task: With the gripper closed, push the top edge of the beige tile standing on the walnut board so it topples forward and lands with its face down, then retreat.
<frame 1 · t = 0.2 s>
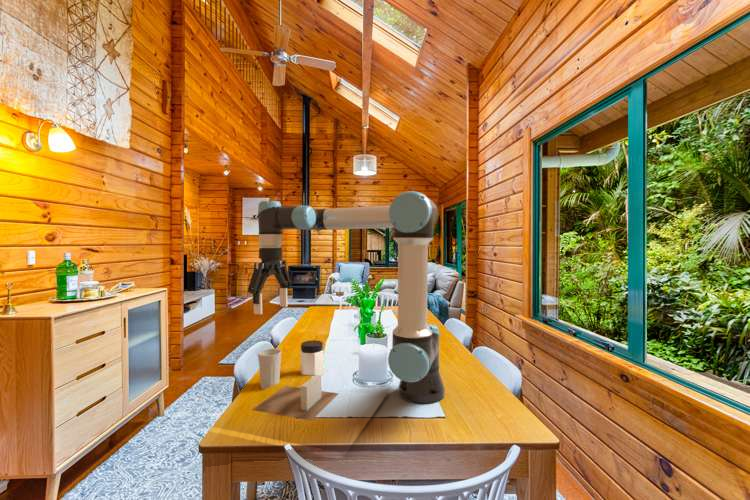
hand: (271, 310, 119), 28 cm above the table, fingers open, 13 cm apart
board: (297, 405, 110), on the table
cup: (270, 386, 124), on the table
tile: (311, 403, 108), point 1 cm above the table, touching board
jar: (312, 374, 135), on the table
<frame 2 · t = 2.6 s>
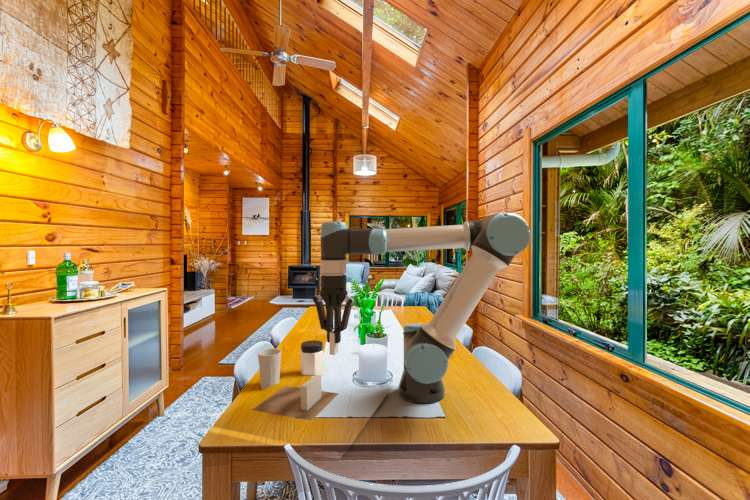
hand: (333, 353, 105), 17 cm above the table, fingers closed
nothing on the table moved.
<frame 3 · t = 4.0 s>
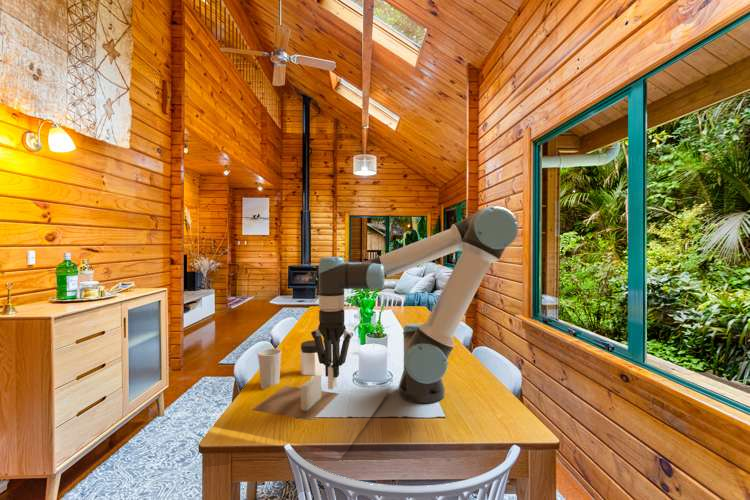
hand: (332, 387, 105), 7 cm above the table, fingers closed
nothing on the table moved.
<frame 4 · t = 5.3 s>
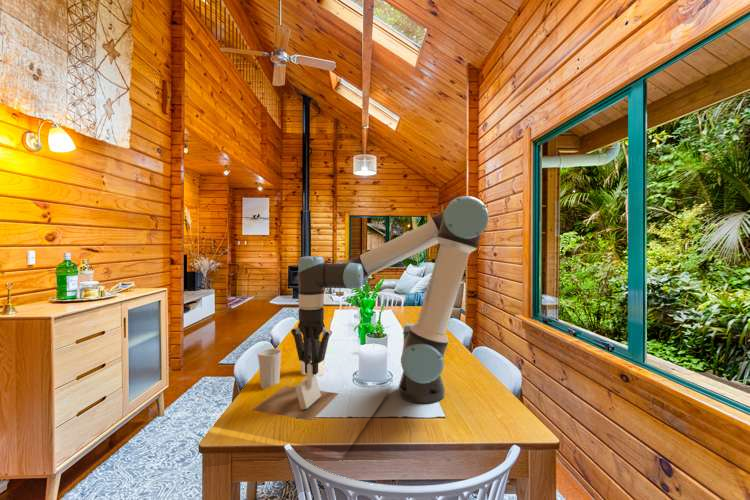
hand: (311, 384, 108), 7 cm above the table, fingers closed
tile: (311, 402, 108), point 1 cm above the table, tilted 16°, touching board
everything else where it was.
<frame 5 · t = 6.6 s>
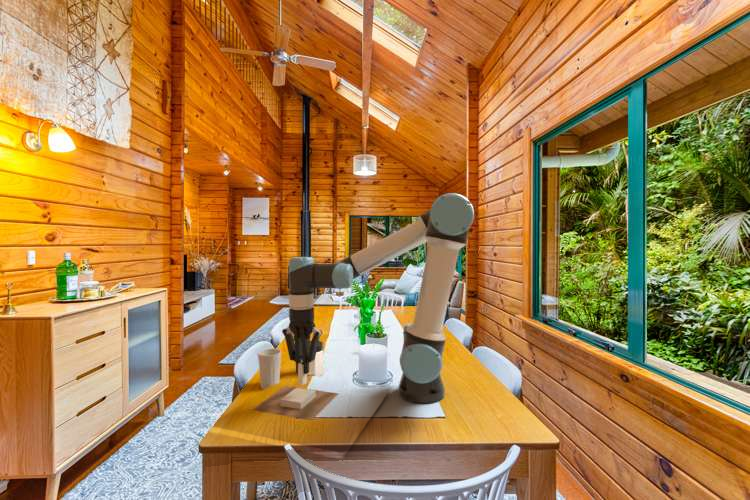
hand: (302, 383, 109), 7 cm above the table, fingers closed
tile: (308, 399, 108), point 2 cm above the table, tilted 90°, touching board
everything else where it was.
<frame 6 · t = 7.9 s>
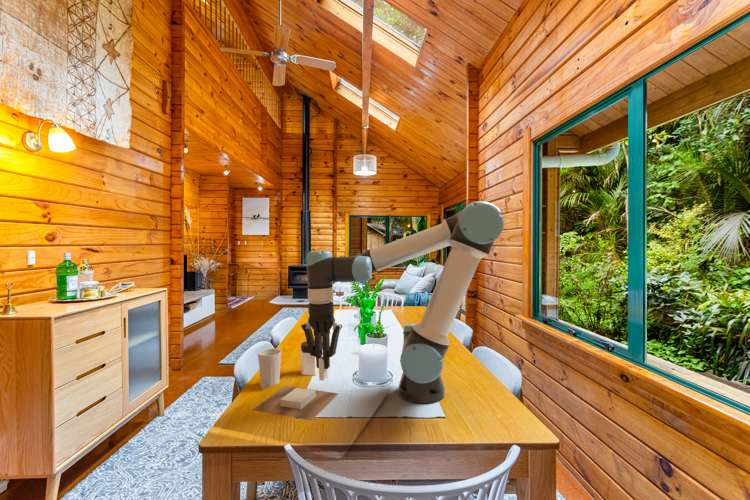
hand: (323, 378, 108), 9 cm above the table, fingers closed
nothing on the table moved.
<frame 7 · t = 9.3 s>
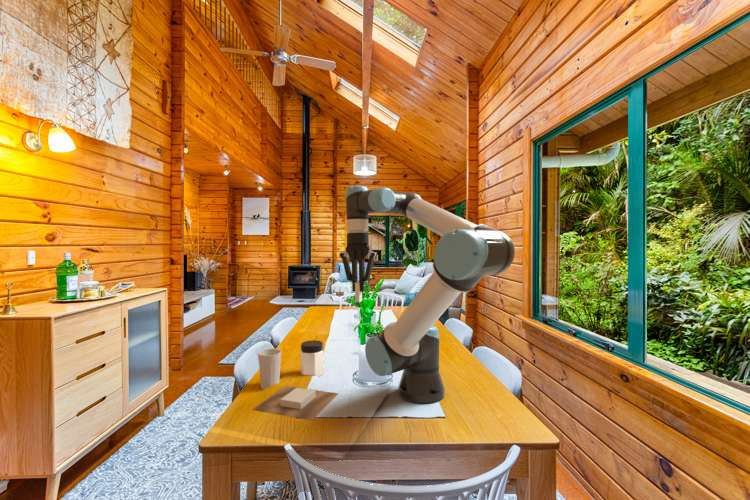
hand: (358, 301, 121), 30 cm above the table, fingers closed
nothing on the table moved.
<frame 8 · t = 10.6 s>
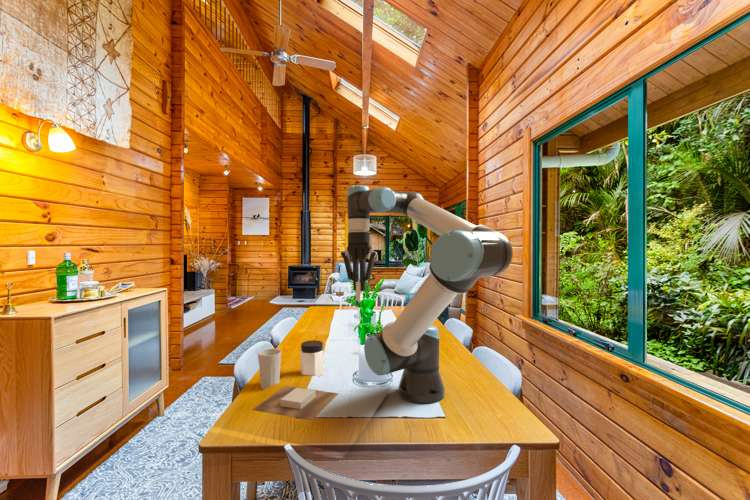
hand: (359, 300, 121), 30 cm above the table, fingers closed
nothing on the table moved.
at the end: tile tilted 90°; tile inside the target area on the board (4.0 cm from its centre), point 2.2 cm above the board's base; the gripper is holding nothing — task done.
